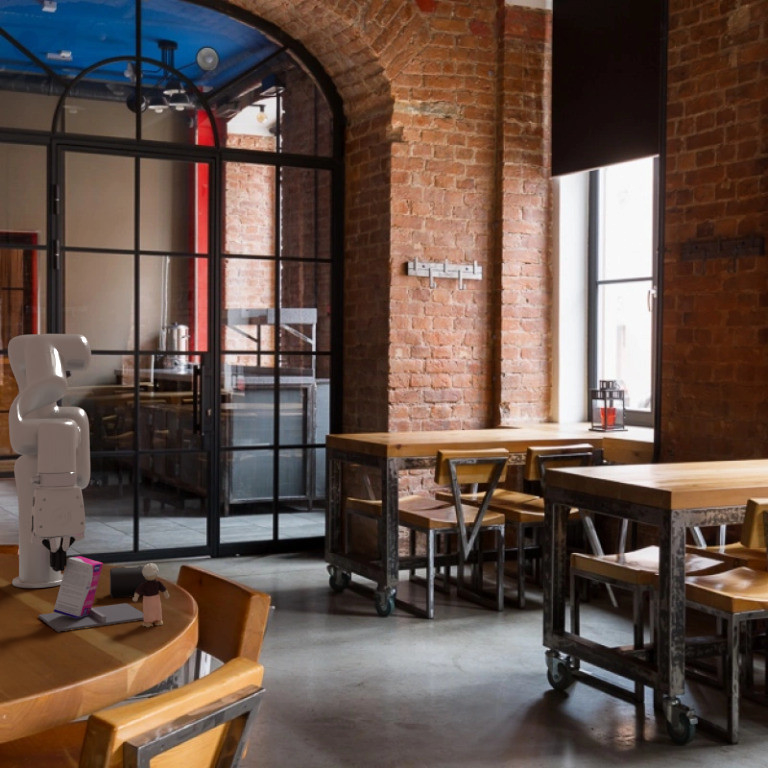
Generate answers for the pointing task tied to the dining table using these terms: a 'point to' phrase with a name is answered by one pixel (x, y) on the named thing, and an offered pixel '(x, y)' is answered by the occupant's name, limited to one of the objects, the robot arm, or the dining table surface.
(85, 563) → the supplement box
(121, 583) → the end cap
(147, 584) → the grandmother figurine
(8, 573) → the dining table surface
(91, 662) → the dining table surface
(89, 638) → the dining table surface
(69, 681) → the dining table surface
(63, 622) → the mat
